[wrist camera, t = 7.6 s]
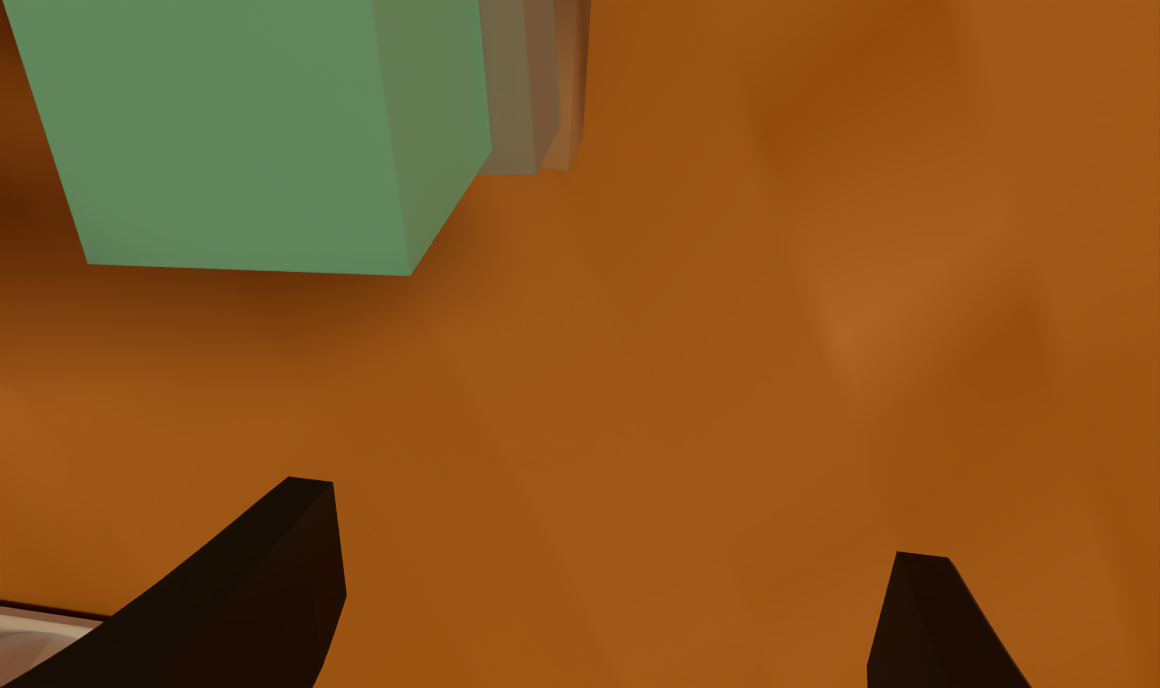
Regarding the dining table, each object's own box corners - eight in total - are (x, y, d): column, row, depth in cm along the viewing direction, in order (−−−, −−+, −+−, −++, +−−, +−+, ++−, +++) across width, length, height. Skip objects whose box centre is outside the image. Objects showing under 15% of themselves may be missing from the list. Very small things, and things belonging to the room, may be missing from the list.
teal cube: (491, 149, 17) (410, 275, 13) (236, 145, 18) (87, 264, 14) (464, -153, 14) (356, -107, 11) (170, -144, 15) (-29, -98, 11)
